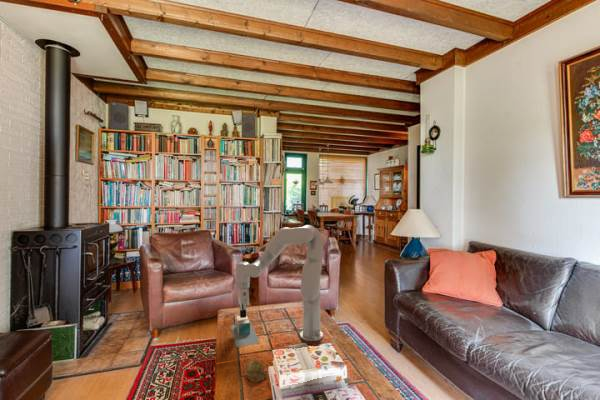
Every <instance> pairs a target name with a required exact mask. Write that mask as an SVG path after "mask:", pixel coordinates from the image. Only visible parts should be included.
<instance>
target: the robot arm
mask: <svg viewBox="0 0 600 400" xmlns="http://www.w3.org/2000/svg"><path fill="white" fill-rule="evenodd" d="M300 244H307V246H306V247H307V249H306V256H305V258H306V259H305V262H304V265H303V267H302V272H301V281H300V295H301V297H302V331H300V332H299V337H300V339H302V340H303V341H307V342H316V341H320V340H322V339H323V337H324V333H323V331H322V330H321V276H322V275H321V274H322V270H323V268H322V267H323V265H322V264H323V252H324V251H323V250H324V249H323V248H324V240H323V236H322V234H321V232H320V231H319V230H318V229H317V228H316V227H315V226H313V225H310V224H305V225H303V226H300V227H287V226H285V227H281V228H280V229H279V230H278V231H276V233H275V236H274V237H273V238H272V239H271V240H270V242H268V243H267V244H266V246H265V248H264V251H262V253H261V254H260V256H259V257H258V258H257V259H256V260H255V261H254V262H252V263H249V261H239V262H237V263H236V265H235V266H236V267H235V268H236V269H235V272H236V273H235V276H236V278H235V283H236V284H235V286H236V289H237V293H238V294H237V296H238V297H237V298H238V299H237V300H238V301H237V302H238V304H239V306H240V307H239V309H240V310H239V316H240V318H244V317H246V315H247V307H249V306H250V293H249V292H250V289H249V288H250V287H251V286H250V284H251V278H258V277H259V276H261V275H262V273H264V272H265V271H266V270H267V268H268V267H269V266H270V265H271V264H272V263H273V262H274V260H275V259H277V258H278V257H279V255H281V253H282V252H283V251H284V250H285V248H287V247H288V246H289V245H300Z"/></svg>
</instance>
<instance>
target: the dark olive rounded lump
mask: <svg viewBox="0 0 600 400" xmlns="http://www.w3.org/2000/svg"><path fill="white" fill-rule="evenodd" d="M264 368H265V367H264V365H263V362H261V360H257V359H254V360H252V361H250V362H249V363H247V364H246V378H247V380H248V381H250V382H252V383H260V382H263V381H264V380H265V379H266V376H267V375H268V374H267V372H266V371H265V369H264Z"/></svg>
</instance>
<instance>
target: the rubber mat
mask: <svg viewBox="0 0 600 400" xmlns="http://www.w3.org/2000/svg"><path fill="white" fill-rule="evenodd" d="M230 329H231V332H232V336H233V340H234V344H235V347H236V348H239V347H244V346H250V345H257V344H261V341H260V339H259V337H258V335H257V333H256V330H255V328H254V326H253V324H252V322H250V334H245V335H239V334H238V330H237V327H236V324H233V325H230Z"/></svg>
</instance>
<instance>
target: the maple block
mask: <svg viewBox="0 0 600 400" xmlns="http://www.w3.org/2000/svg"><path fill="white" fill-rule="evenodd" d="M235 323H236V324H235V325H236V327H237V330H238V334H239V335H245V334H250V323H251V322H250V319H249V317H248V315H247V314H246V317H244V318H240V315H236V316H235Z"/></svg>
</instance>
